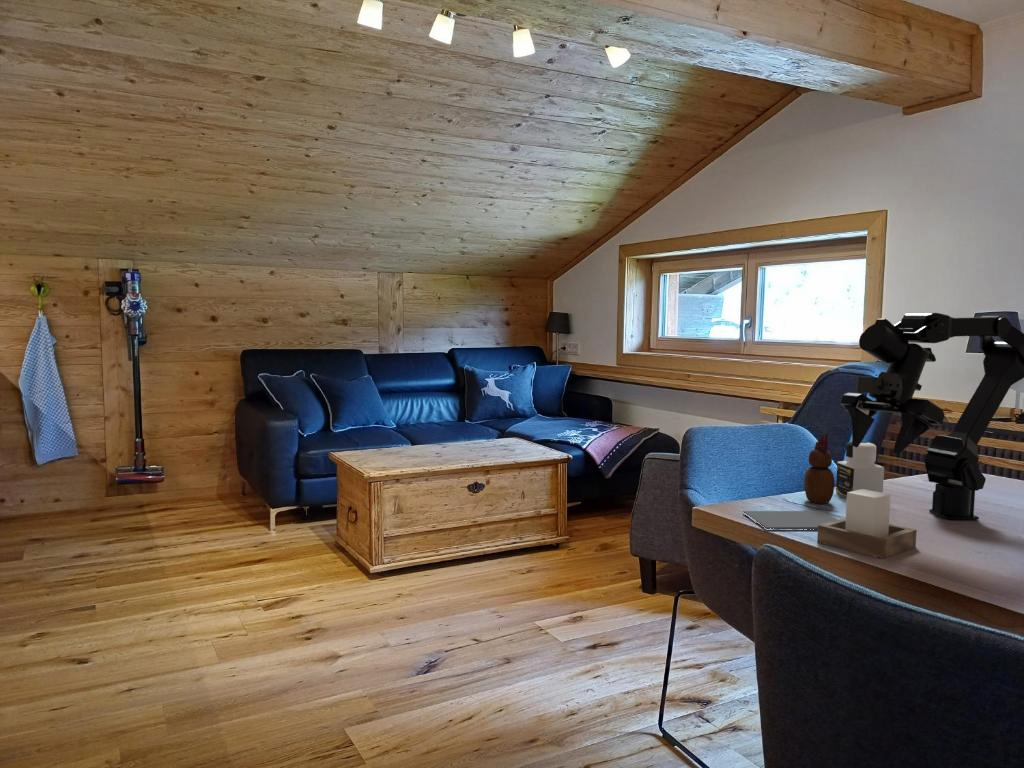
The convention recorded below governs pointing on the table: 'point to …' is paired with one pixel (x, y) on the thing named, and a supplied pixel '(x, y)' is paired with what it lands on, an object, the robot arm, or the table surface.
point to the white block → (868, 512)
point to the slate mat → (791, 519)
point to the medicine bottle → (859, 470)
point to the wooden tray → (867, 539)
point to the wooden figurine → (819, 474)
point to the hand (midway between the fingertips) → (874, 449)
